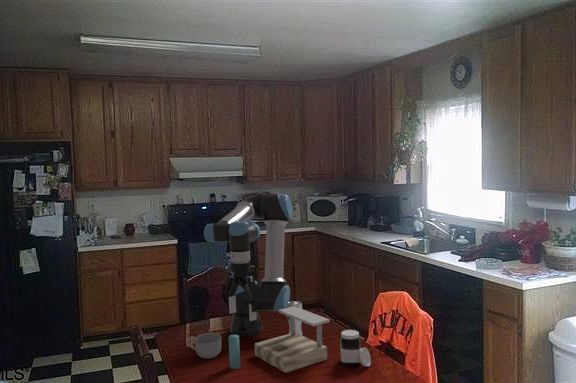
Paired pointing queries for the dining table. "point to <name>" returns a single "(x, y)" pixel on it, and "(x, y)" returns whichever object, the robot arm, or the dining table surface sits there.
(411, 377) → the dining table surface
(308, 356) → the socket block
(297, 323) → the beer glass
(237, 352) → the peg
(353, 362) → the spread jar
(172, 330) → the dining table surface
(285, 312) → the grey piece
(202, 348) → the teacup
